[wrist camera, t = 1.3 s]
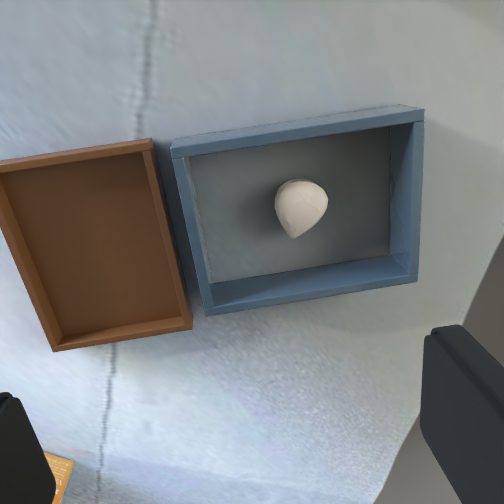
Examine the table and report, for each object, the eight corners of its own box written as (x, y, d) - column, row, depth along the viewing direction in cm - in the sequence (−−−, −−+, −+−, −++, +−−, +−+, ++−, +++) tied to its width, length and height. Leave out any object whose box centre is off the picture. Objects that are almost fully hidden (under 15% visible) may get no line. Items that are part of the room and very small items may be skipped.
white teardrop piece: (328, 180, 33) (336, 188, 31) (313, 236, 35) (320, 247, 33) (276, 172, 33) (282, 179, 30) (265, 229, 34) (269, 241, 32)
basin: (173, 138, 31) (169, 147, 27) (400, 104, 31) (425, 108, 28) (206, 292, 36) (205, 317, 33) (397, 261, 37) (418, 281, 33)
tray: (-12, 162, 30) (-26, 168, 28) (152, 137, 31) (148, 141, 29) (60, 338, 37) (52, 352, 35) (193, 316, 37) (192, 329, 36)
